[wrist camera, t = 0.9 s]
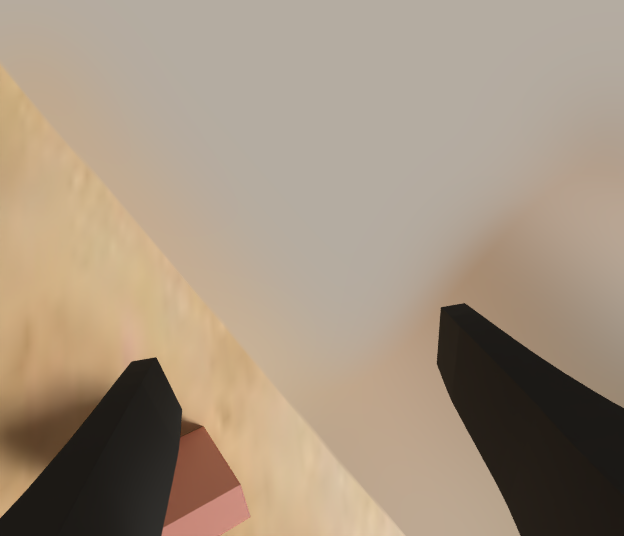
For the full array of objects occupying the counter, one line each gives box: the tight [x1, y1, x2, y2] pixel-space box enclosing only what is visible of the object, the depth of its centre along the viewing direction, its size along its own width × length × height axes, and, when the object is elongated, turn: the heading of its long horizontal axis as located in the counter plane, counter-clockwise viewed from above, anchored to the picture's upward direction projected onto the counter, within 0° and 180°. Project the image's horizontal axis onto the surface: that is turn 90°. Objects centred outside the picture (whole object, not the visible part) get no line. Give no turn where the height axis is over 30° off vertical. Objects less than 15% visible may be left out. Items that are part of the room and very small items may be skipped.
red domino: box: [162, 426, 250, 536], centre depth 20 cm, size 2×5×8 cm, turn 107°
